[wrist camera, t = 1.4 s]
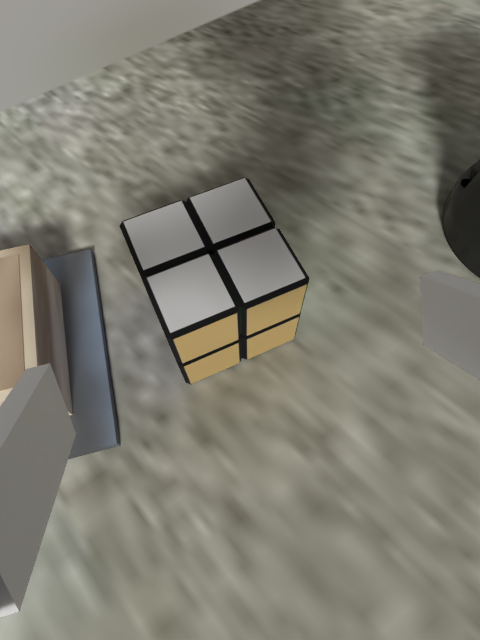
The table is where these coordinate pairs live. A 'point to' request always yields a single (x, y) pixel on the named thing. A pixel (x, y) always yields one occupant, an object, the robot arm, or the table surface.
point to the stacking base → (86, 354)
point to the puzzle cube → (218, 277)
